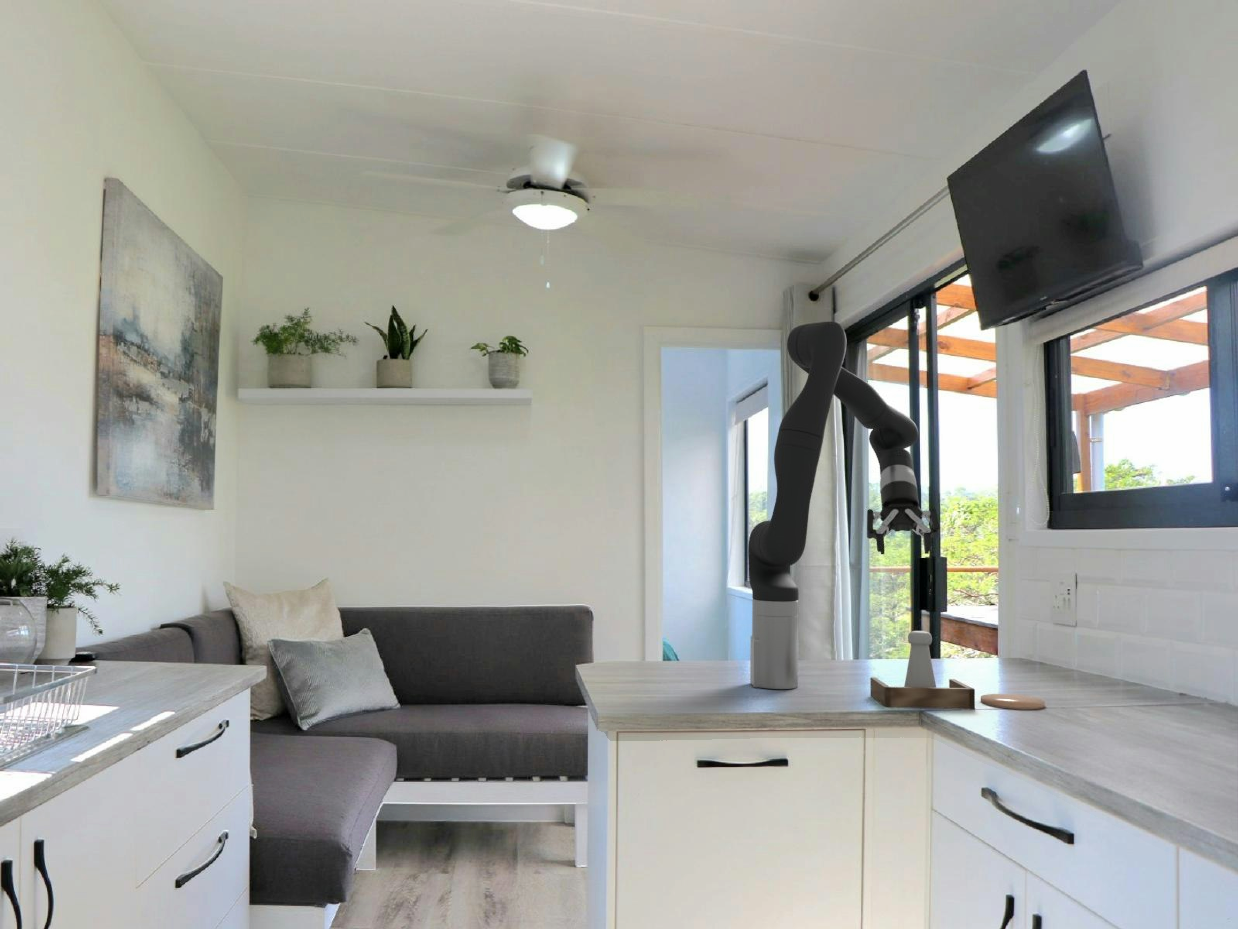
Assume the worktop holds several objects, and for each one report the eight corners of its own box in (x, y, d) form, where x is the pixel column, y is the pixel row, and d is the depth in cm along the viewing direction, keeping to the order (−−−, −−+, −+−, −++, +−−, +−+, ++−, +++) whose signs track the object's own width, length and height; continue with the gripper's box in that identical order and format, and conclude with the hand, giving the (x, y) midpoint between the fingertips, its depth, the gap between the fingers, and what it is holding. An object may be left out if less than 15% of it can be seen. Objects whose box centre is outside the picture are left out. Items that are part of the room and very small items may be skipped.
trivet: (993, 708, 171) (993, 704, 171) (972, 697, 182) (972, 693, 182) (1055, 710, 171) (1055, 705, 171) (1030, 698, 182) (1029, 694, 182)
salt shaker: (923, 698, 181) (923, 629, 182) (943, 704, 175) (943, 632, 176) (897, 699, 179) (897, 630, 180) (916, 705, 174) (916, 633, 174)
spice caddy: (885, 707, 171) (885, 687, 172) (870, 696, 182) (870, 677, 183) (974, 709, 171) (974, 689, 171) (954, 697, 182) (954, 679, 182)
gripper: (864, 480, 201) (868, 540, 190) (934, 478, 198) (943, 539, 187) (864, 503, 206) (868, 563, 195) (933, 501, 203) (941, 562, 192)
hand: (904, 551), depth 191 cm, fingers open, 8 cm apart
